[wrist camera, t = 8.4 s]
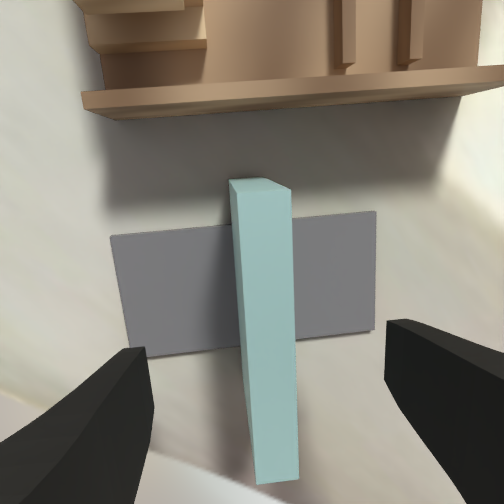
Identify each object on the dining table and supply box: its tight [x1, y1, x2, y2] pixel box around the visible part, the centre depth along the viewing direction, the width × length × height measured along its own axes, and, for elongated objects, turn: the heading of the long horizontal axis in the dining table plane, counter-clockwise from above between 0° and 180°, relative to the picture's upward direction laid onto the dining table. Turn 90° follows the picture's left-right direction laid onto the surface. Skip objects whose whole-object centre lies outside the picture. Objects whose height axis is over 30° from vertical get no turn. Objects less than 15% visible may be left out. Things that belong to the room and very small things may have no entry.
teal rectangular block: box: [229, 177, 299, 485], centre depth 14 cm, size 2×10×6 cm, turn 4°
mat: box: [110, 211, 376, 357], centre depth 17 cm, size 12×6×1 cm, turn 95°
